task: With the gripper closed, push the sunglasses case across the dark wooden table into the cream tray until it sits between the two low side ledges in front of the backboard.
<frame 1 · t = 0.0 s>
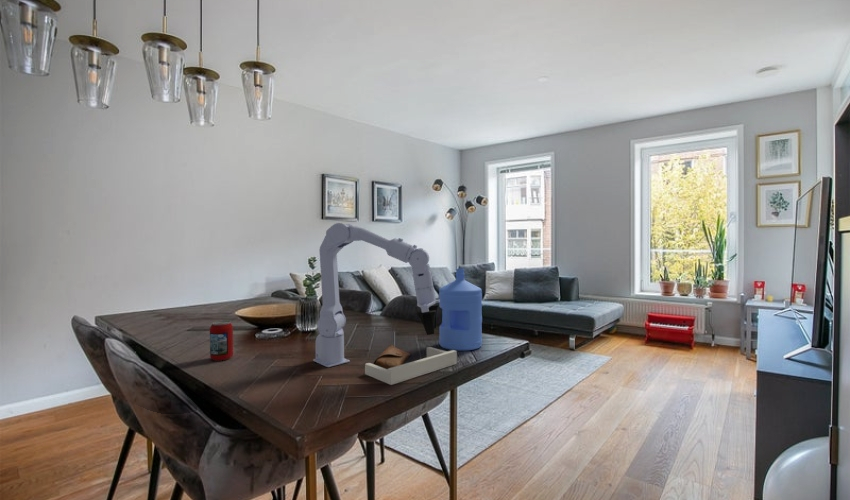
hand: (431, 331, 123), 11 cm above the table, tool pointing down, fingers open, 7 cm apart
water jug: (460, 346, 146), on the table
cream tray: (412, 368, 120), on the table
sunglasses case: (393, 364, 127), on the table
beverage can: (221, 359, 131), on the table
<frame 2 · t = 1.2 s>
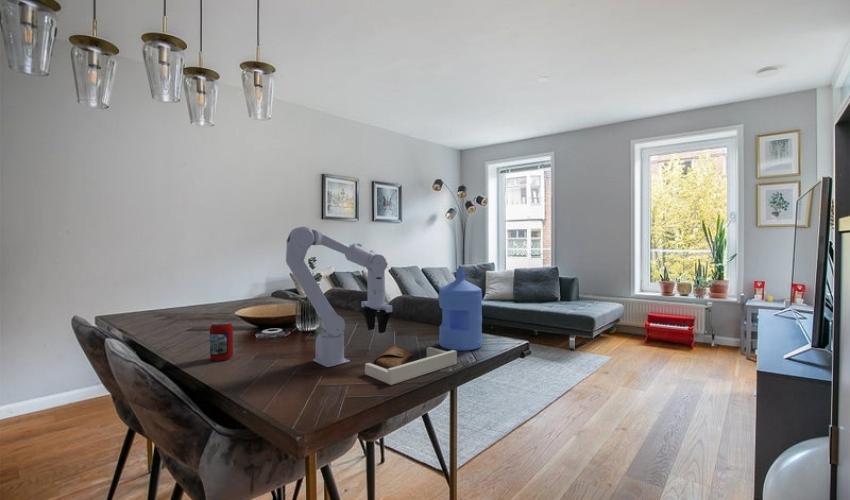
hand: (376, 331, 133), 8 cm above the table, tool pointing down, fingers open, 5 cm apart
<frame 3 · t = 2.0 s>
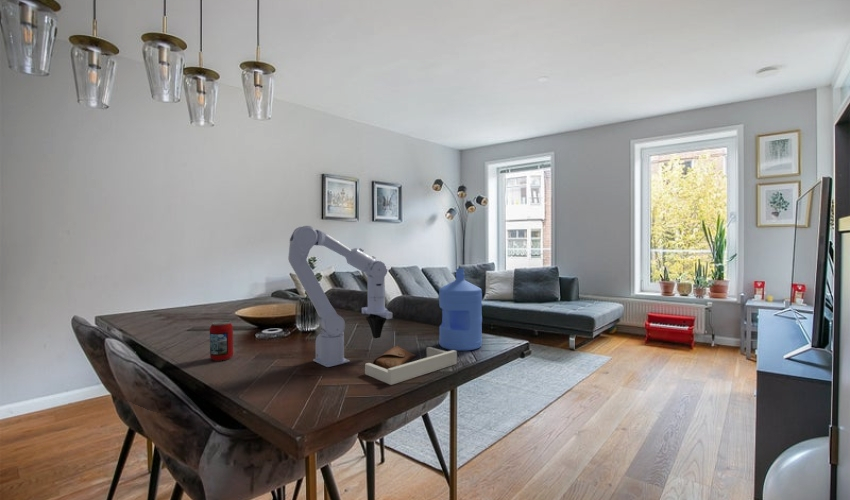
hand: (376, 337, 133), 6 cm above the table, tool pointing down, fingers closed
nothing on the table moved.
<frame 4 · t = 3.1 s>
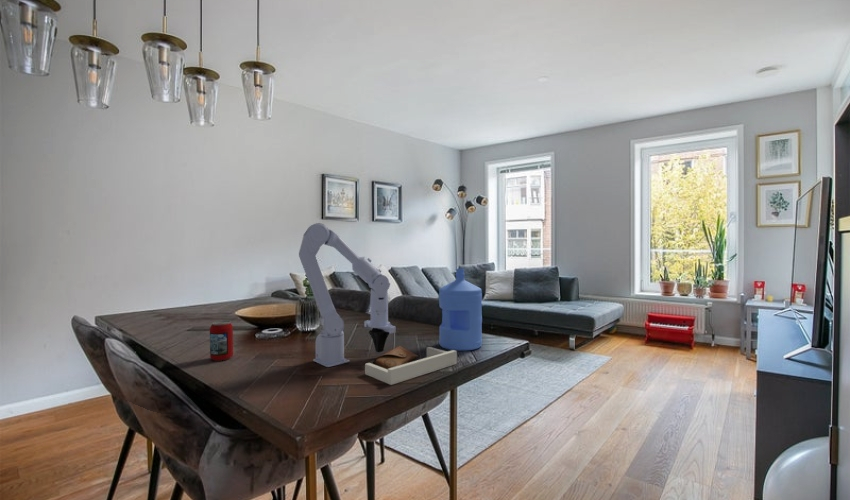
hand: (379, 351, 132), 2 cm above the table, tool pointing down, fingers closed
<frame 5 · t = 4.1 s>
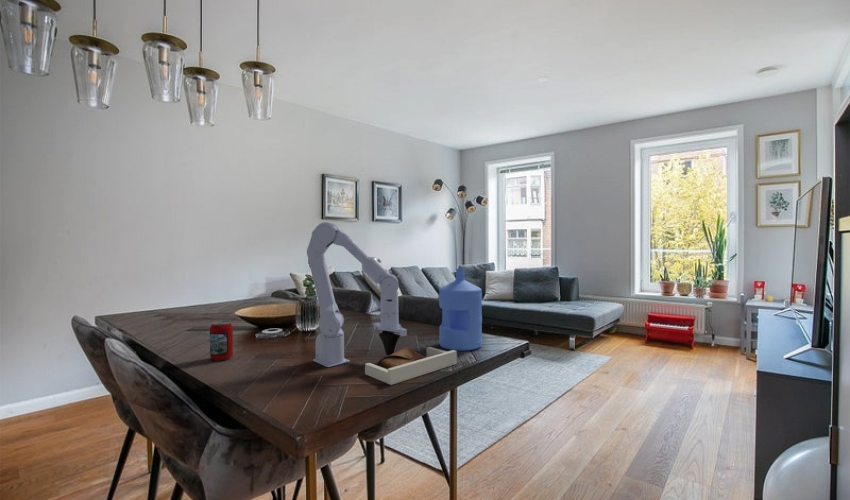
hand: (389, 354, 128), 2 cm above the table, tool pointing down, fingers closed
sunglasses case: (403, 365, 125), on the table, touching gripper
everything else where it was.
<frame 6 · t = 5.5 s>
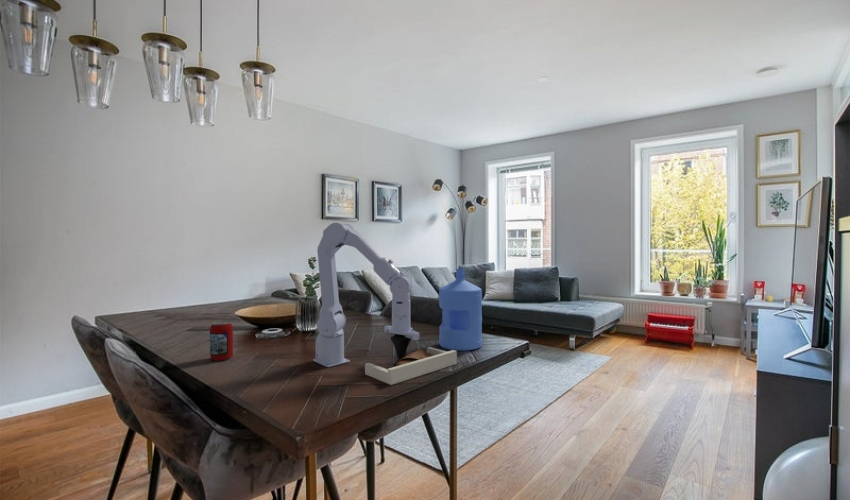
hand: (401, 358, 123), 2 cm above the table, tool pointing down, fingers closed
sunglasses case: (417, 368, 123), on the table, touching gripper
everything else where it was.
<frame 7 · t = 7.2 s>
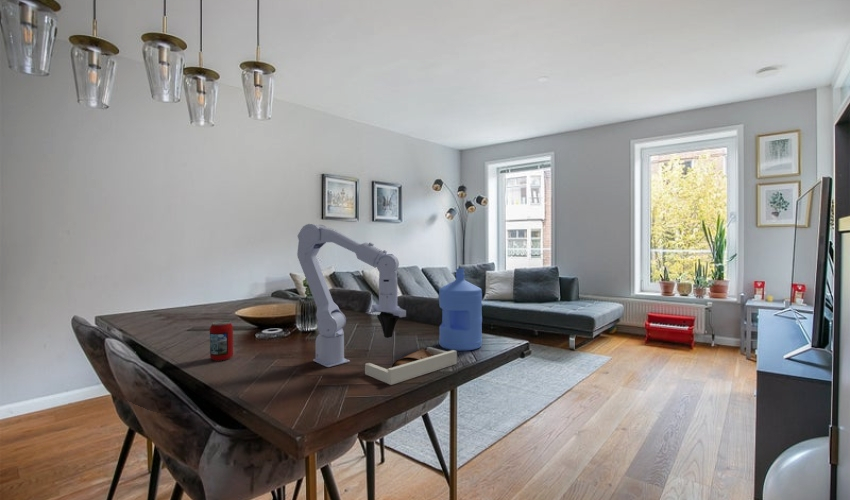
hand: (388, 337, 124), 8 cm above the table, tool pointing down, fingers closed
sunglasses case: (418, 368, 123), on the table
everything else where it was.
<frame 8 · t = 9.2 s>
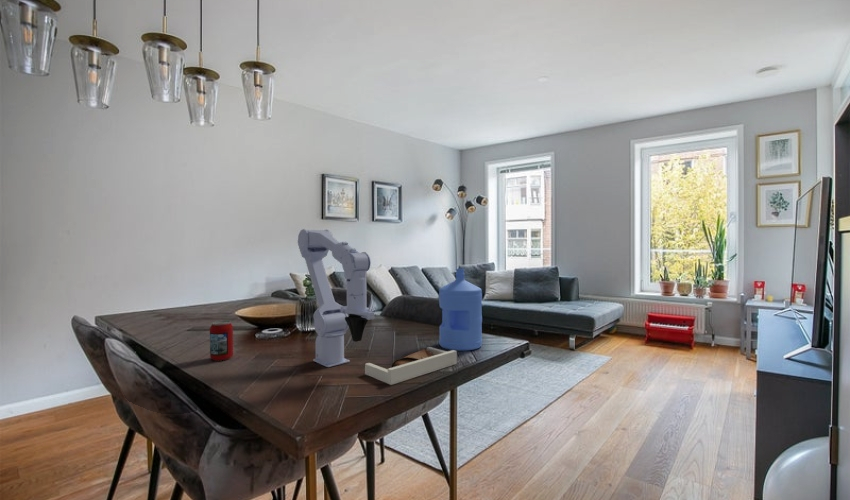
hand: (357, 340, 116), 9 cm above the table, tool pointing down, fingers closed
nothing on the table moved.
at the end: sunglasses case 3.3 cm from the target spot, on the table; sunglasses case moved 9.5 cm from its start; the gripper is holding nothing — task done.
